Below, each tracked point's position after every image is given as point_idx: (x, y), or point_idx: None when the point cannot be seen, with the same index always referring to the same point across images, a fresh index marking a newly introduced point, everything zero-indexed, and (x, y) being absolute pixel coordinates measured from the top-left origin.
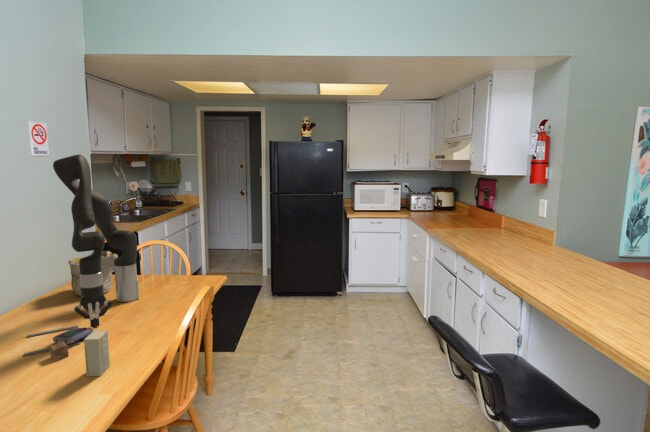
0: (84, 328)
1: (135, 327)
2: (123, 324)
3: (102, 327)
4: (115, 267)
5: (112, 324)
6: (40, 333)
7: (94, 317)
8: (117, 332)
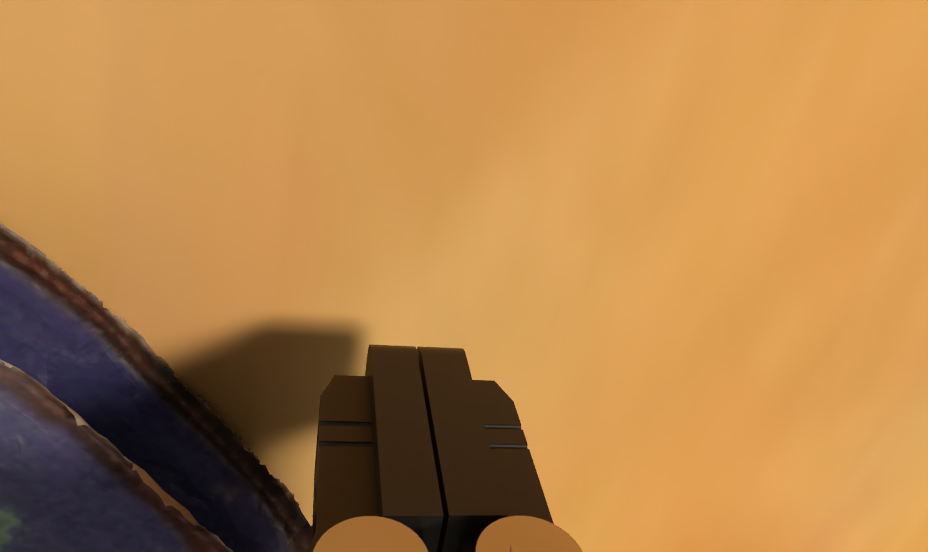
0: (168, 504)
1: (921, 509)
2: (901, 295)
3: (572, 197)
4: None
5: (782, 160)
6: None
7: (452, 522)
8: (665, 544)
